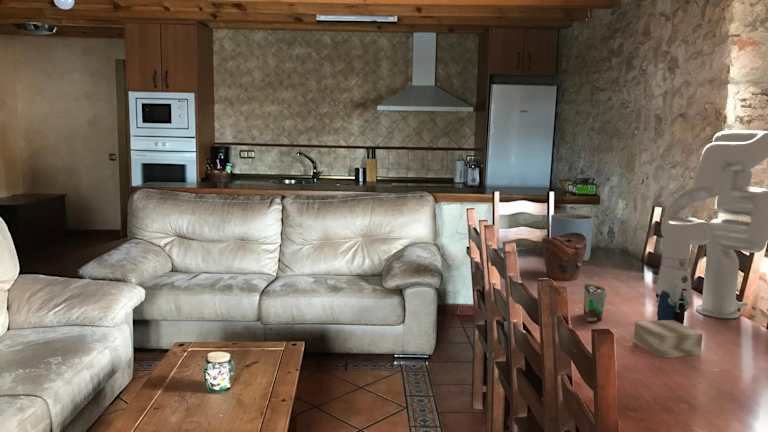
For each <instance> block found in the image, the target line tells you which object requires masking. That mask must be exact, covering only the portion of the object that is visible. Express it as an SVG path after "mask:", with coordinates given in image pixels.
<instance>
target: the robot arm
mask: <svg viewBox="0 0 768 432" xmlns="http://www.w3.org/2000/svg"><path fill="white" fill-rule="evenodd" d="M767 159H768V131H767V130H766V131H765V130H764V131H763V130H725V131H720V132H717V133H716V134H715V135H714V137H713V138H712V143H709V144H707V145H706V146H705V147H704V149H703V151H702V155H701V157H700V160H699V163H698V165H697V168H696V170H695V173H694V175H693V176H694V177H693V178H692V181H691V184H690V185H689V186H688V187H687V188H685V189H683V190H682V191H681V192H680V193H678V194H677V195H676V196H675V197H674V198H673V199H672V200H671V201H670V202H669V204H668V205H667V206H666V207H667V208H666V210H665V213H664V215H663V217H662V221H661V225H660V234H661V236H662V245H661V246H662V247H661V259H660V260H661V261H660V266H659V271H658V276H657V281H656V283H657V285H656V286H654V287H653V290H654V293H655V297H656V303H657V310H656V311H657V312H656V316H657V317H658V307H659V296H660V294H661V292H662V291H663V292H666V293H669V295H670V297H671V299H672V301H673V302H675V304H674V305H675V309H676V311H674V318H673V320H675V321H677V322H679V323H681V324H683V325H684V324H685V313H686V312H687V310H688V309H689V308H690V306H692V304H693V301H692V300H691V297H692V275H691V270H690V258H691V248H692V247H691V246H692V245H693V246H703V245H705V246H706V251H705V253H706V257H705V268H704V277H703V278H704V279H703V287H702V288H703V289H702V301H701V304H698V305H697V306H696V308H695V309H696V311H697V313H699V314H701V315H704V316H708V317H713V318H718V319H737V318H739V317H740V314H741V313H740V311H739V310H738V309H740V308H741V309H744V308H745V309H747V308H748V306H749V303H748V302H747V301H740V302H739V300H737V299H736V298H737V287H738V278H739V268H740V261H739V257H738V256H737V253H736V252H735V251H741V252H747V253H757V254H758V253H760V252H762V251H763V250H764V249H765V247H766V246H767V243H768V189H767V188H763V187H762V188H760V187H751V183H752V178H753V169H754V168H756V167H758V166H759V165H761V163H762V162H764V161H765V160H767ZM713 198H716V209H717V211H718V212H719V213H721V214H722V215H727V216H735V217H742V218H749V219H750V221H745V220H740V219H739V220H738V219H731V218H722V217H721V218H714V219H712V220H710V221H709V222H708V221H705V220H701V219H695V218H688V217H681V215H682V214H683V212H684V211H685V210H686V209H687V208H689V207H690V206H691V207H692V206H693V205H695V204H697V203H701V202H704V201H707V200H710V199H713ZM679 299H682V301H679ZM678 303H682V305H681V306H680V307H679V304H678Z"/></svg>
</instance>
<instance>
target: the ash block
mask: <svg viewBox="0 0 768 432" xmlns="http://www.w3.org/2000/svg"><path fill="white" fill-rule="evenodd" d="M633 343H635V344H636V345H638V346H640V347H641V348H643V349H645V350H646V351H648V352H649V353H651V354H653V355H654V356H656V357H658V358H659V359H661V358H662V359H663V358H665V359H666V358H677V357H678V358H679V357H696V356H697V357H699V356H701V355H702V354H701V353H702V352H701V351H702V343H703V333H701V332H699V331H697V330H695V329H692V328H690V327H689V326H687V325H684V324H681V323H679V322H677V321H675V320H660V321H657V320H643V321H642V320H641V321H635V322H634V334H633Z"/></svg>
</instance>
